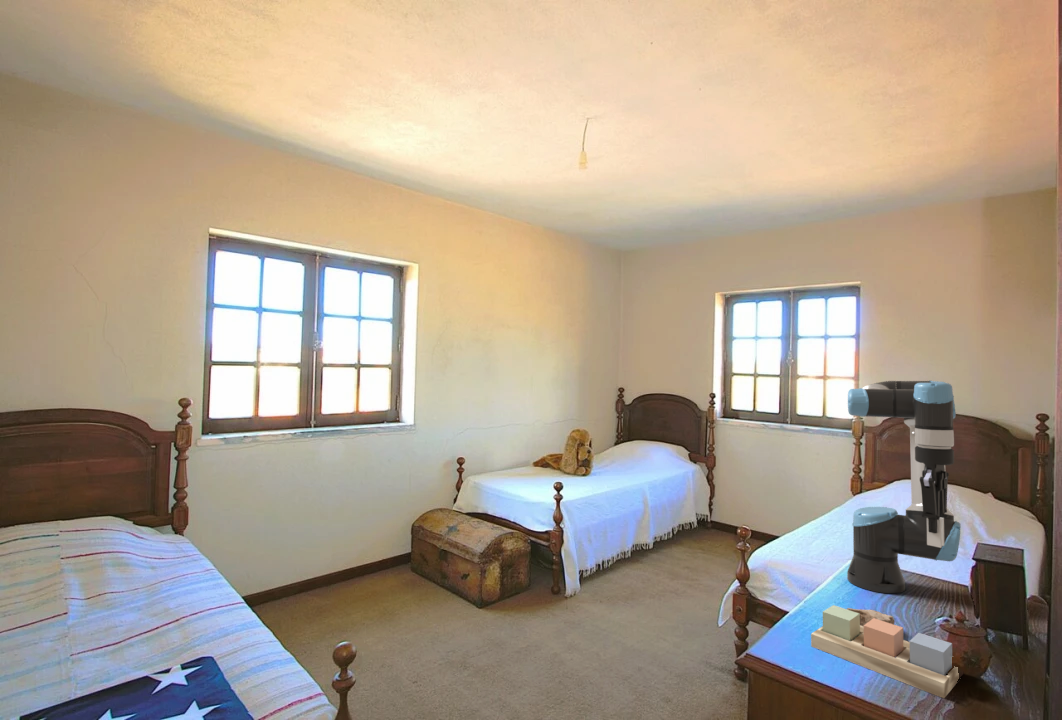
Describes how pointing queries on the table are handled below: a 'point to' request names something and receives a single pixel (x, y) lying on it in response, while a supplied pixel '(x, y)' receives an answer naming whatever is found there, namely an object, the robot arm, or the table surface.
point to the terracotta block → (883, 637)
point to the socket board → (886, 662)
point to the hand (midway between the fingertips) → (935, 544)
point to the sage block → (841, 622)
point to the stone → (872, 616)
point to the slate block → (931, 653)
